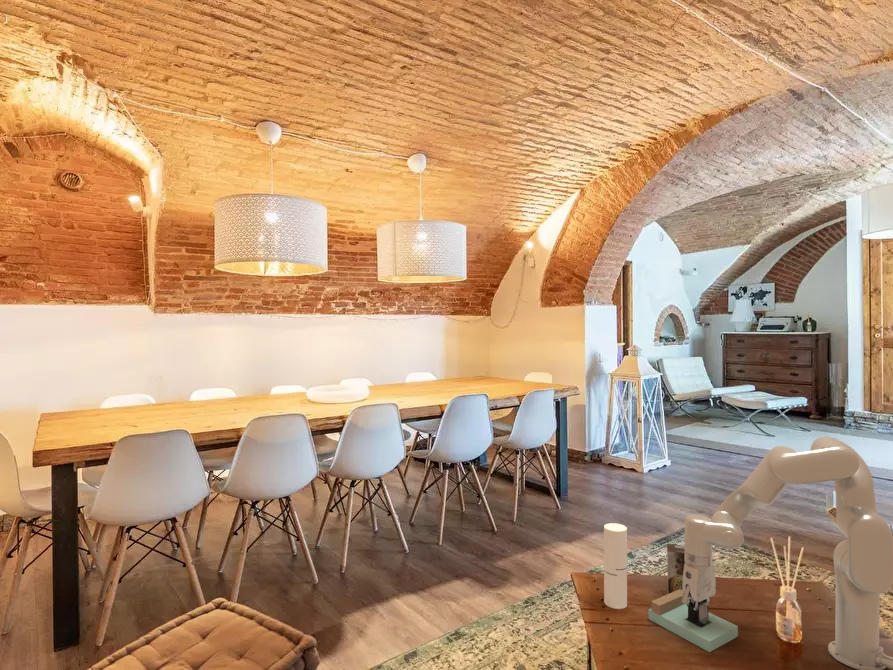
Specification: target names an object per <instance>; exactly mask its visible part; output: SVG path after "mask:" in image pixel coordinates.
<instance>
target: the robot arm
mask: <svg viewBox="0 0 893 670" xmlns="http://www.w3.org/2000/svg"><path fill="white" fill-rule="evenodd" d="M832 481H833V483H834V488H835V489H834V490H835V509H836V510H835V511H836V512H835V513H836V514H835V515H836V516H835V520H836V525H837V527H838V529H839V530H840V531H841V532H842V533H843V534H844V536H845V537H846V538H847V539H844V540H842V541H840V542H839V543H838V544H837V545H836V547H835V548H834V550H833V568H834V576H835V578H834V579H835V618H834V619H835V628H834V630H835V633H834V639H835V640H832V641H830V642H829V643H828V645H827V648H828V649H827V650H828V652H829V655H831V656H832V658H834V659H835V660H836V661H838V662H840V663H841V664H843V665H846V667H850V668H853V669H855V670H883V669H885V668H886V669H887V668H888V669H890V670H893V657H892V656H890V655H888V654H886V653H884V646H881V645H880V606H881V605H880V604H881V603H880V602H881V599H880V598H881V595H882V594H885V593H886V592H888V591H889V590H890V589H891V587H892V586H893V533H892V530H891V528H890V526H889V525H888V523H887V522H886V520H884V518H882V517H881V516H880V515H879V513H878V512H877V506H876V494H875V485H874V480H873V476H872V472H871V471H870V469H869V466H868V465H867V463H866V462H865V461H864V459H863V458H862V456H861V455H860V454H859V453H858V452H857V451H856V450H855V449H854V448H852V447H851V445H849V444H847V443H845V442H843V441H842V440H840V439H837V438H834V437H830V436H821V437H818V438H816V439H815V440H813V442H812V443H811V446H810V450H806V451H796V450H794V449H792V448H790V447H788V446H784V445H783V446H782V445H778V446H775V447H773V448H771V449H770V450H768V452H767V453H766V454H765V456H764V457H763V458H762V459H761V461H760V462H759V463H758V465H757V466H756V467H755V468H754V470H753V471H752V472H751V474H749V476H748V478H747V479H745V481H744V482H743V483H742V485H740V486H738V487H737V488H736V489H735V490H734V491H733V492H731V493H729V495H728V496H727V497H726V498H725V499H724V500H723V502H722V503H721V504H720V505H719V506H718V508H717V509H716V510H715V512H714V513H713V515H712V517H711V518H709V516H707V515H703V514H699V513H697V514H696V513H693V514H692V513H691V514H688V515H686V516H685V518H684V546H685V565H684V571H683V595H684V596H683V599H682V602H683V603H685V604H686V605H687V607H688V619H689V620H690V621H692V622H694V623H696V624H698V623H699V610H697V609H698V602H701V601H703V600H705V601H706V602H707V616H708V612H709V605H710V604H711V602H710V601H711V600H710V599H711V597H713V596H715V594H716V592H717V589H716V588H717V585H716V584H717V583H716V570H715V565H714V562H713V546H716V547H719V548H723V549H727V550H736V549H739V548H740V547H741V546H742V545H743V544H744V540H745V537H744V533H743V531H742V529H741V525H742V523H744V521H745V520H746V518H747V517H748V516H750V514H751V513H752V512H753V511H755V510H757V509H758V508H763V507H764V508H765V507H768V506H771V505H773V503H774V502H775V501H776V500H777V499H778V497H779V496H780V495H781V493H782V492H783V491H784V490H785V489H786V488H787V486H788V485H791V486H792V485H794V486H797V485H798V486H799V485H809V484H817V483H823V482H824V483H825V482H832ZM691 600H693V601H694V604H693V603H692V602H691ZM886 669H885V670H886Z"/></svg>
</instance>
